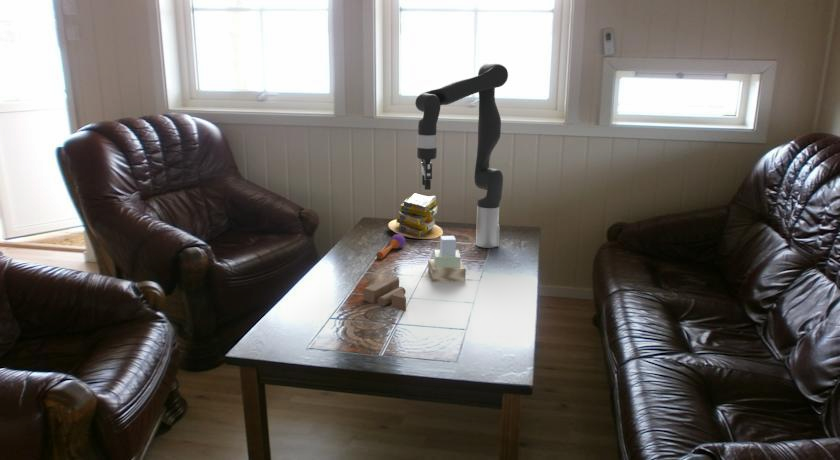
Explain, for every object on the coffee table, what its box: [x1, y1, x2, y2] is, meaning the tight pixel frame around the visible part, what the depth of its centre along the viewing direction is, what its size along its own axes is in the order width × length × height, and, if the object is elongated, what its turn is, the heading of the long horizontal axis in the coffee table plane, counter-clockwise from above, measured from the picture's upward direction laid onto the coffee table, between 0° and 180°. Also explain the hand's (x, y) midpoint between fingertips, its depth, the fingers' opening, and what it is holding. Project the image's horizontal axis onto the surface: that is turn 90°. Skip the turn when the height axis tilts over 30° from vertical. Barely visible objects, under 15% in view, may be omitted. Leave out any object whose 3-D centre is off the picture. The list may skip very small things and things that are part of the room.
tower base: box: [427, 258, 467, 283], centre depth 243 cm, size 12×12×5 cm
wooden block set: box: [362, 274, 407, 312], centre depth 221 cm, size 17×6×18 cm
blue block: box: [439, 235, 457, 256], centre depth 241 cm, size 5×5×6 cm
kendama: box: [375, 233, 406, 260], centre depth 269 cm, size 6×6×20 cm
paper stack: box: [388, 192, 444, 240], centre depth 297 cm, size 25×25×17 cm
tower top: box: [433, 249, 462, 268], centre depth 242 cm, size 9×9×4 cm
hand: (426, 187), depth 259 cm, fingers open, 8 cm apart
